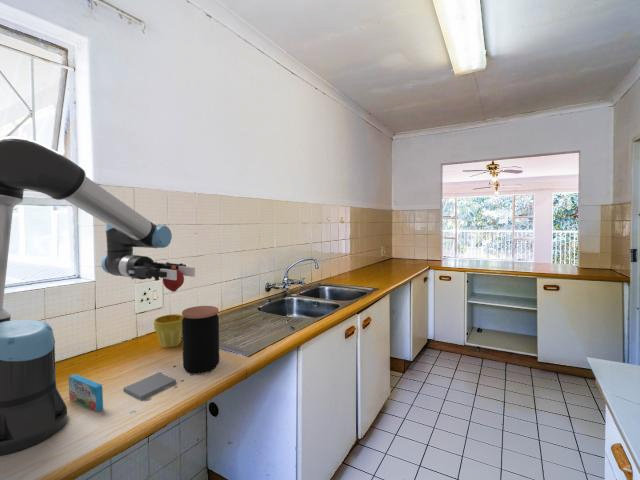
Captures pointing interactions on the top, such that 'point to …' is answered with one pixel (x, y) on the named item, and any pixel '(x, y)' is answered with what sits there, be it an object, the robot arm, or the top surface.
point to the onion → (174, 281)
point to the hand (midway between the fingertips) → (184, 273)
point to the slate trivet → (149, 386)
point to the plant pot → (169, 330)
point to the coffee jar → (200, 339)
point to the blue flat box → (86, 392)
